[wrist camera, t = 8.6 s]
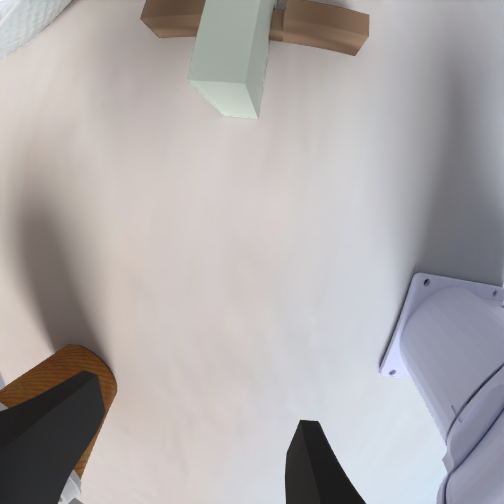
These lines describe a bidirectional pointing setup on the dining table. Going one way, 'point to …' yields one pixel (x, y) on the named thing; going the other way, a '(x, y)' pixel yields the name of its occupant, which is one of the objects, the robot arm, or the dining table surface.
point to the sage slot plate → (232, 55)
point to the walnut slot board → (282, 23)
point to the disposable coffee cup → (53, 374)
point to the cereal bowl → (25, 21)
